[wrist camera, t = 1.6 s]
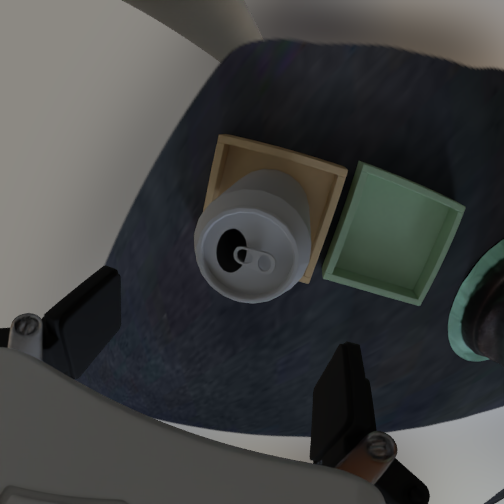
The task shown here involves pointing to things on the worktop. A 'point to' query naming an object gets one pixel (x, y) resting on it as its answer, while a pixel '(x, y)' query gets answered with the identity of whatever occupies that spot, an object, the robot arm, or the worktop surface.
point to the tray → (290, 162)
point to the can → (255, 237)
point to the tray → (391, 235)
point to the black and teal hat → (480, 311)
